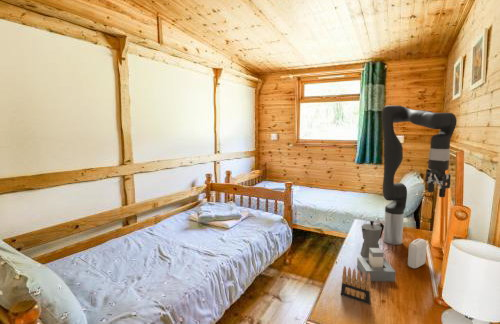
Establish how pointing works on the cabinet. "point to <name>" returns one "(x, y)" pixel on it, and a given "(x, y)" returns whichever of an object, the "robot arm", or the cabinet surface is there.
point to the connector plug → (376, 258)
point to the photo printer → (417, 253)
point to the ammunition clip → (356, 286)
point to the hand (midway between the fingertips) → (436, 194)
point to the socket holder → (376, 270)
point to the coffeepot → (371, 237)
